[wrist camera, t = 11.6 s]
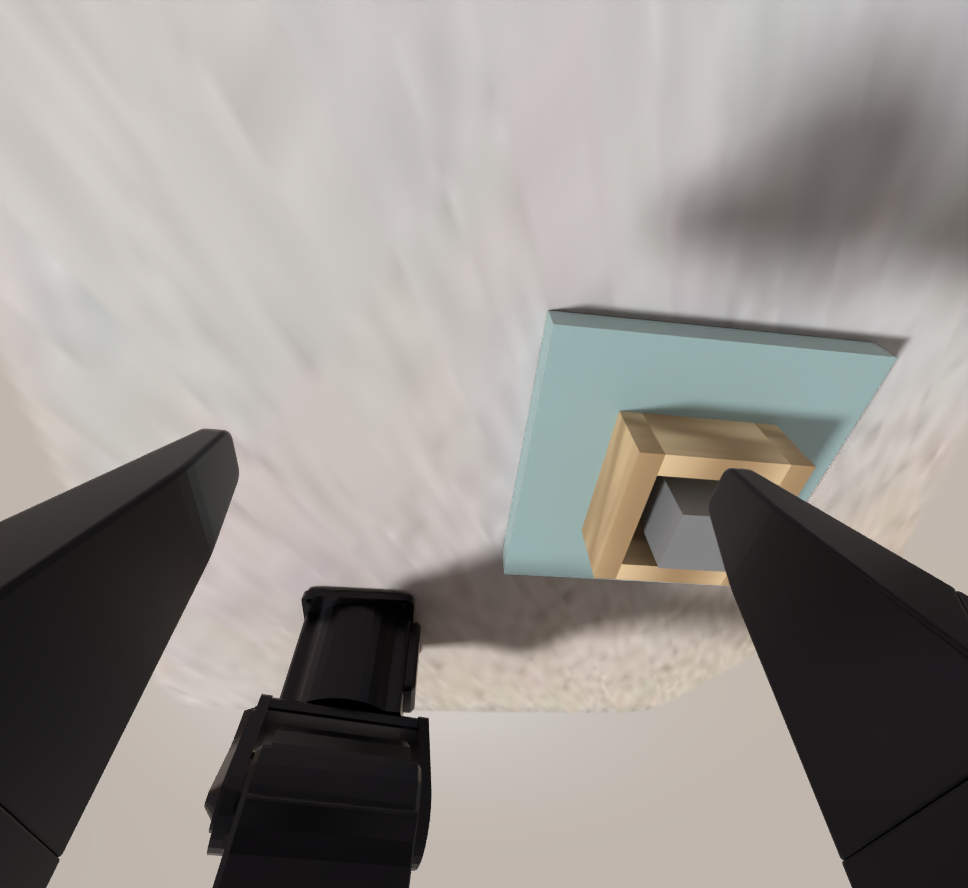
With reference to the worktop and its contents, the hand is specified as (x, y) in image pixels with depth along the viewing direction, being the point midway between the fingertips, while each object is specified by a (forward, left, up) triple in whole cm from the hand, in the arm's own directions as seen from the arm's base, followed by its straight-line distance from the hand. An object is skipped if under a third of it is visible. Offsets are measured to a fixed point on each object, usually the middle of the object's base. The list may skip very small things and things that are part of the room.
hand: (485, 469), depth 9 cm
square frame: (+10, -8, -10) cm, 16 cm away
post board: (+10, -8, -12) cm, 18 cm away
